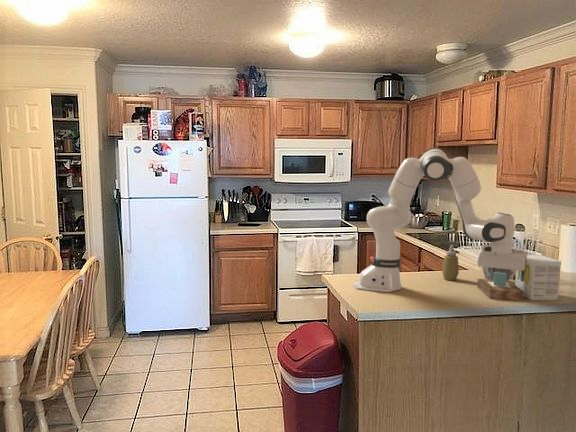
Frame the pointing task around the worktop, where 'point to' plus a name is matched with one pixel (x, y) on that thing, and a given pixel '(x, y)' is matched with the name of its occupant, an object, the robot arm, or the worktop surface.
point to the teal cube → (499, 279)
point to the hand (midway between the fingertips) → (500, 277)
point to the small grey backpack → (492, 270)
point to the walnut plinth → (500, 290)
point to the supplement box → (539, 278)
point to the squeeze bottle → (450, 265)
